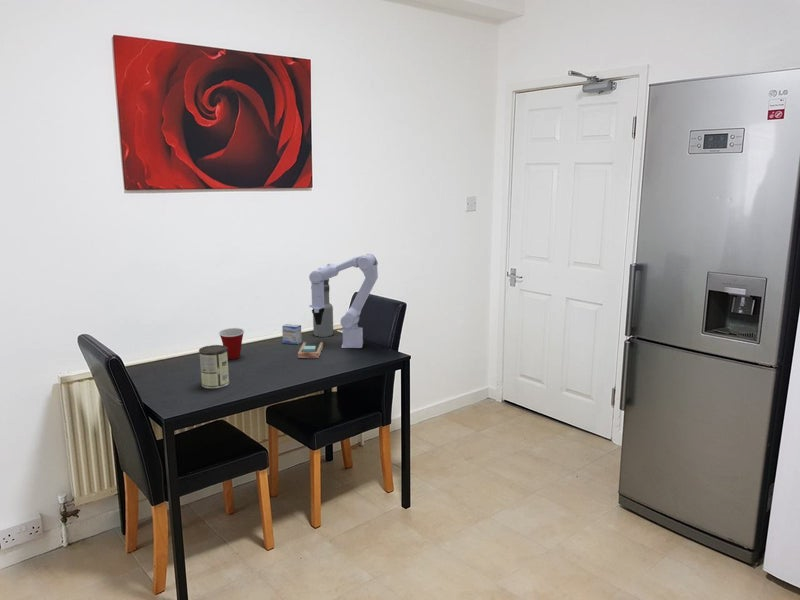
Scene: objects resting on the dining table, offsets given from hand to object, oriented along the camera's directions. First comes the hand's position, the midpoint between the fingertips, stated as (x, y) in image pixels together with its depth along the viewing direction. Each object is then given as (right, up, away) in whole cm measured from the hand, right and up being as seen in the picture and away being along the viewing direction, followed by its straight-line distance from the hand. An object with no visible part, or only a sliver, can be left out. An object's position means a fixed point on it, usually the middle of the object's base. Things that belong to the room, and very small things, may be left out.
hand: (318, 324), depth 293 cm
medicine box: (-13, -9, +4) cm, 16 cm away
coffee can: (-32, -21, -54) cm, 67 cm away
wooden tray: (-2, -12, -12) cm, 17 cm away
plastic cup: (-35, -14, -20) cm, 42 cm away
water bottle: (0, -6, +19) cm, 20 cm away
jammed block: (-2, -13, -17) cm, 22 cm away
